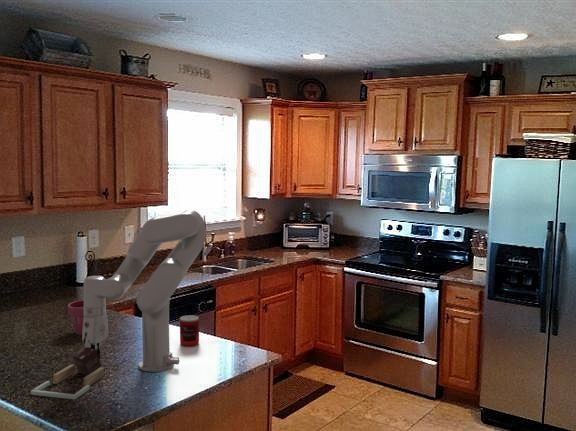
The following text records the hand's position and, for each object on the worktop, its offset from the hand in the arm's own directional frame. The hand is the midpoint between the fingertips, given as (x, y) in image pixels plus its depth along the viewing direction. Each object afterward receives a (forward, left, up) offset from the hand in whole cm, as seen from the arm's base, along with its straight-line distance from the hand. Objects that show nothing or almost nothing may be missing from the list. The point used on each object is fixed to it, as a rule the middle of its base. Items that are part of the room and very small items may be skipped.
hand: (95, 359), depth 207 cm
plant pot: (+27, -36, -3) cm, 45 cm away
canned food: (-23, -32, -3) cm, 40 cm away
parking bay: (-1, +22, -3) cm, 22 cm away
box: (-1, +4, -2) cm, 5 cm away
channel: (-1, +12, -3) cm, 12 cm away
